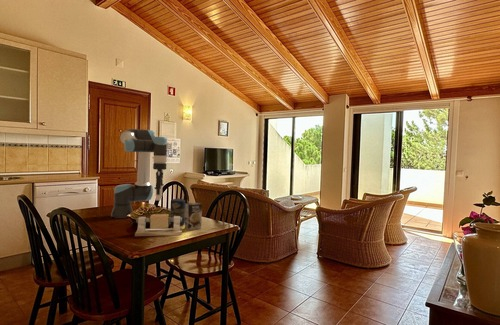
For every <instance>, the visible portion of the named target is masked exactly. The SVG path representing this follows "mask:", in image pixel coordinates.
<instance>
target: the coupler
mask: <svg viewBox="0 0 500 325" xmlns="http://www.w3.org/2000/svg"><path fill="white" fill-rule="evenodd" d="M149 218H150V222H149V224H150V225H149V229H164V228H169V226H170V225H169V224H170V222H168V218H170V214H169V213H164V214H163V213H157V214H156V213H154V214H151V215H150V217H149Z"/></svg>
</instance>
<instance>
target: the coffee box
mask: <svg viewBox="0 0 500 325" xmlns="http://www.w3.org/2000/svg"><path fill="white" fill-rule="evenodd" d="M202 215H203V204H202V202H201V203H200V202H188V203H186V202H185V223H184V229H186V230H187V231H192V230H193V231H194V230H201V229H202V223H203V222H202V217H203V216H202Z"/></svg>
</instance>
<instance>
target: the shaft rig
mask: <svg viewBox="0 0 500 325" xmlns="http://www.w3.org/2000/svg"><path fill="white" fill-rule="evenodd" d="M181 221H182V217H180V216H174V218H170V217H169V218H168V222H169V223H170V222H174V225H173V227H171V228H169V227H168V228H153V229H150V228H146V226H147V225H146V223H150V217H146V216H139V217H136V220H135V222H136V223H137V230H136V231H135V232H134V237H153V236H155V237H156V236H157V237H158V236H181V235H183V234H182V233H183V228H182V227H181V225H180V222H181Z"/></svg>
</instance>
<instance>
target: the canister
mask: <svg viewBox="0 0 500 325" xmlns="http://www.w3.org/2000/svg"><path fill="white" fill-rule="evenodd" d="M185 207H186V200H185V199H183V198H179V197H178V198H173V199H171V200H170V211H169V212H170V214H169V218H174V216H180V217H182V221H181V222H180V226H183V225H185ZM169 224H170V225H171V226H174V222H169Z"/></svg>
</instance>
